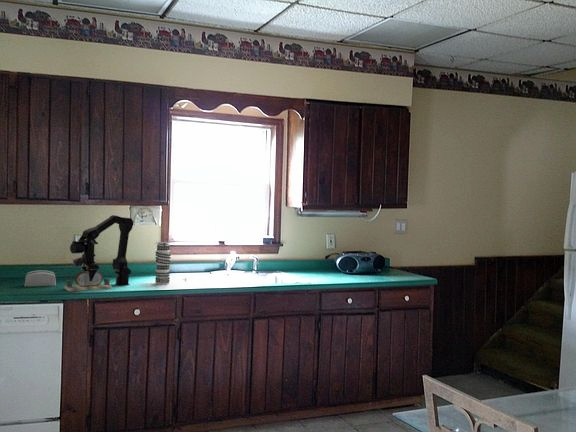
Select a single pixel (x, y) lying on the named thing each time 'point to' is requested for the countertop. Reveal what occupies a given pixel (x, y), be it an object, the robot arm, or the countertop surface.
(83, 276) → the tin
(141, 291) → the countertop surface
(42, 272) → the grey arched block
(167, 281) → the decorative candle
